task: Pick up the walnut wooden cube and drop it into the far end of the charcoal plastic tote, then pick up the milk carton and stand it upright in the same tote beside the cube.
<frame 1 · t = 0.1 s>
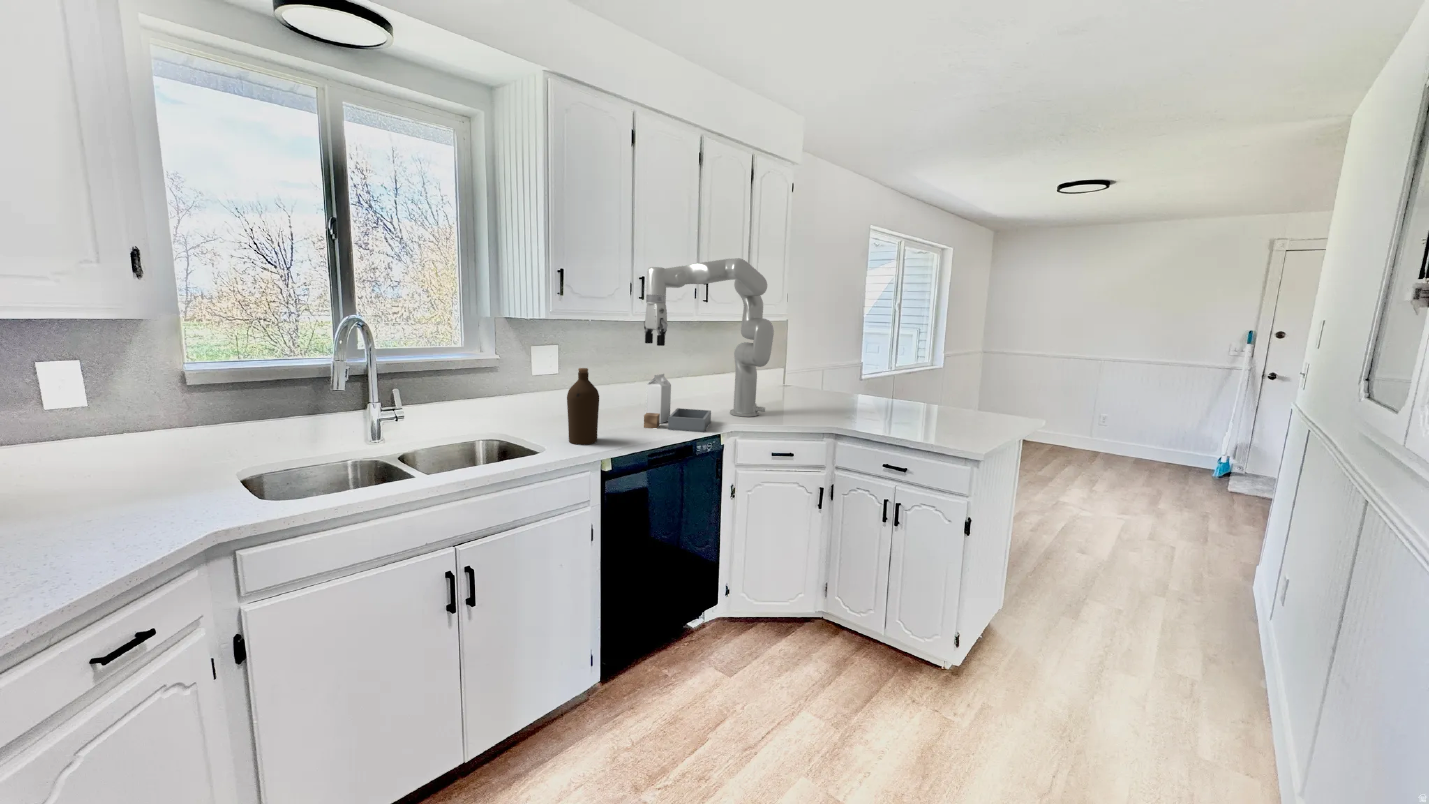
hand: (654, 344, 225), 31 cm above the worktop, tool pointing down, fingers open, 9 cm apart
milk carton: (657, 421, 234), on the worktop
walnut cube: (651, 427, 223), on the worktop
olive oil: (583, 441, 197), on the worktop
tote: (690, 426, 227), on the worktop
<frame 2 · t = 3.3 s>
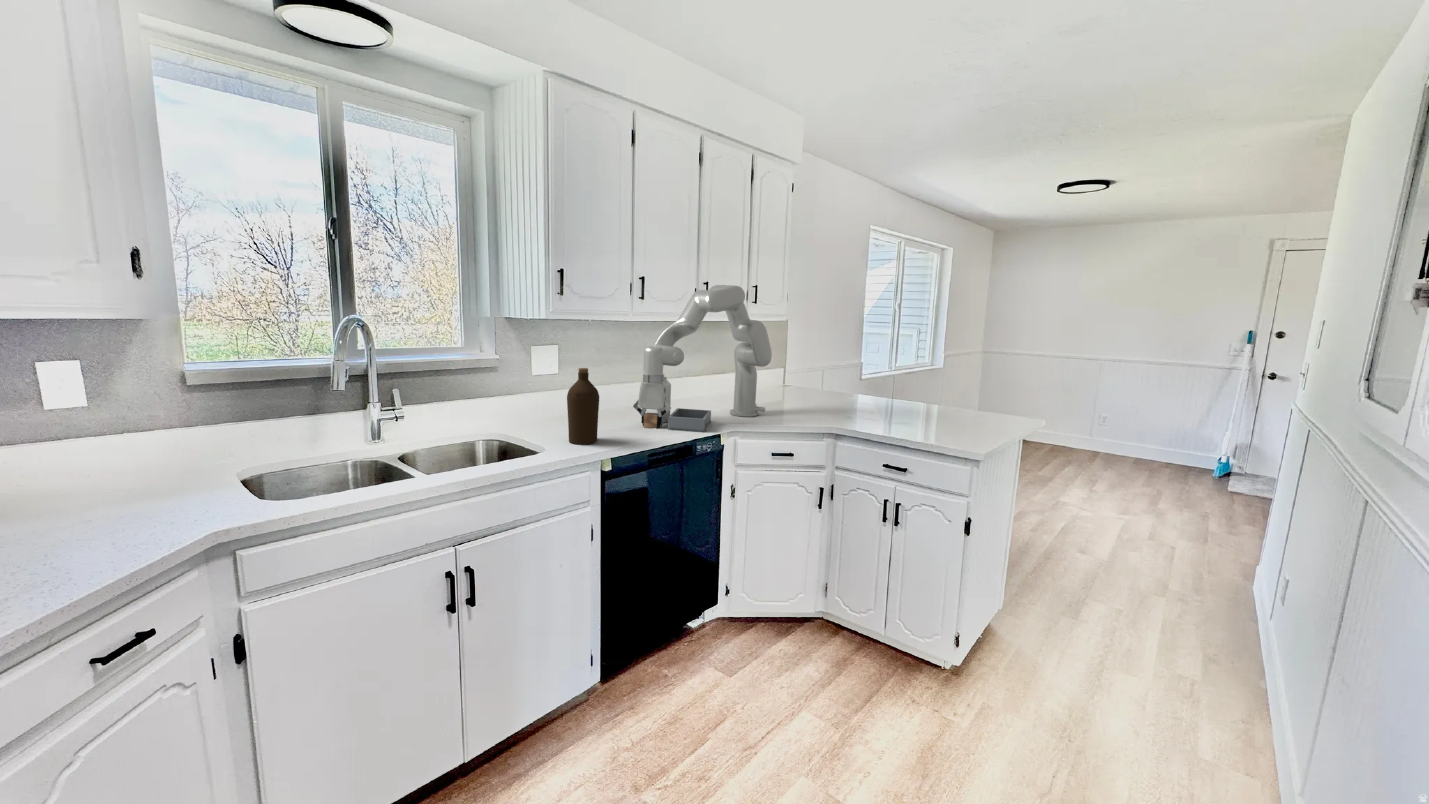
hand: (651, 425, 223), 1 cm above the worktop, tool pointing down, fingers closed on walnut cube, 5 cm apart
walnut cube: (651, 426, 223), on the worktop, touching gripper
everything else where it was.
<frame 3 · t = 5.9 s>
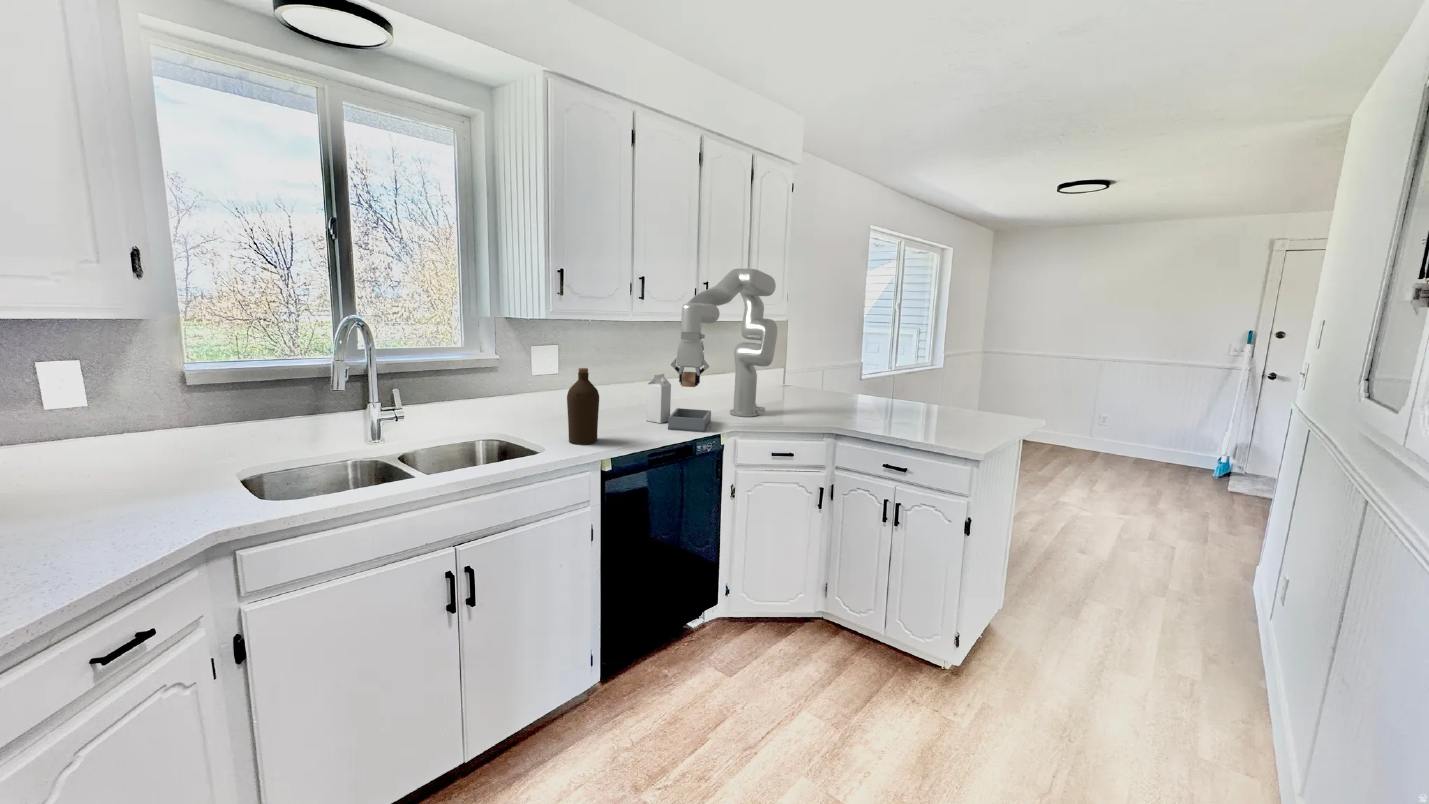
hand: (689, 384, 220), 17 cm above the worktop, tool pointing down, fingers closed on walnut cube, 4 cm apart
walnut cube: (689, 385, 220), point 17 cm above the worktop, touching gripper
everything else where it was.
when the fingers open (4 cm above the worktop, at t = 8.8 s): walnut cube drops 3 cm, resting on tote.
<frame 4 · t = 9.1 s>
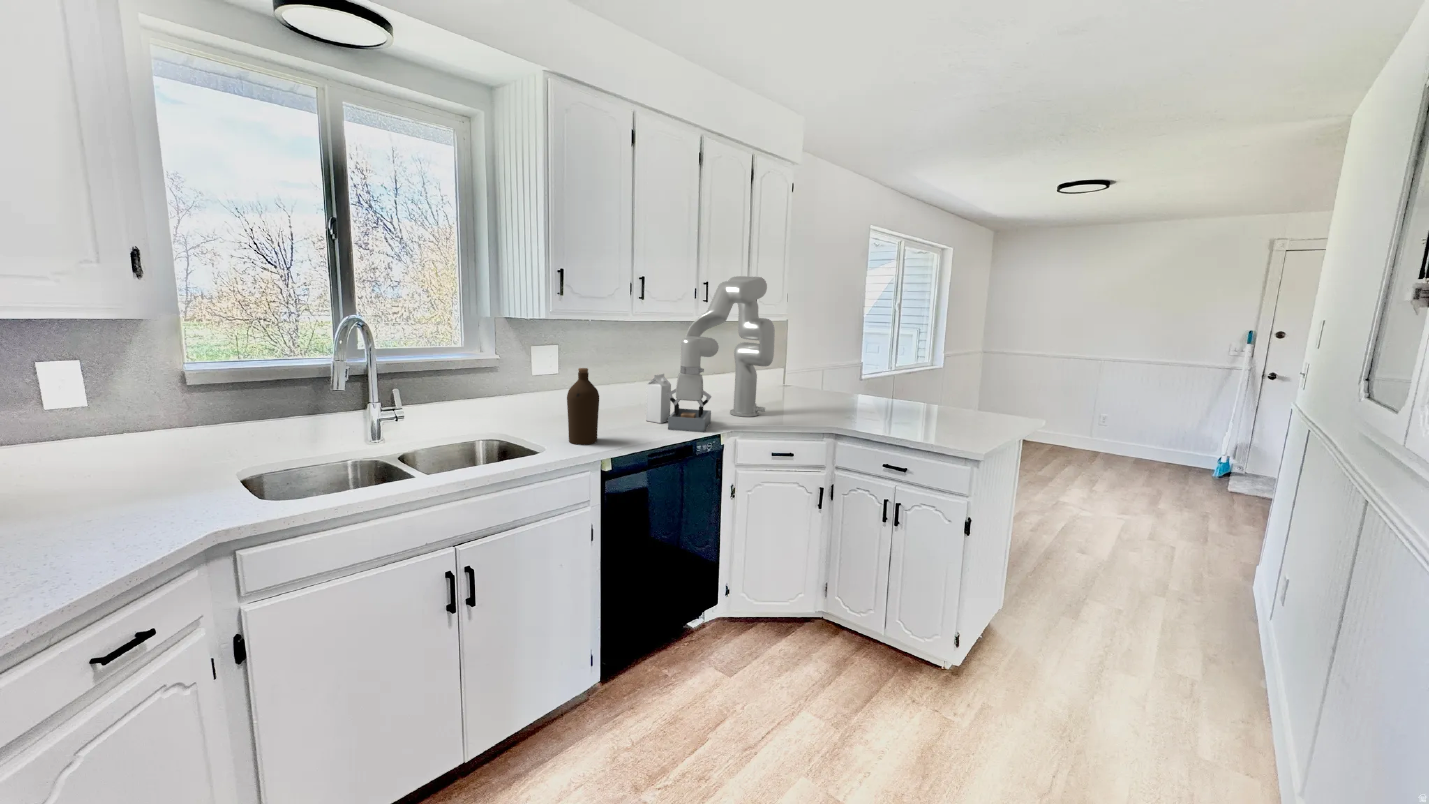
hand: (688, 415, 222), 5 cm above the worktop, tool pointing down, fingers open, 8 cm apart
walnut cube: (687, 426, 223), point 1 cm above the worktop, touching tote
everything else where it was.
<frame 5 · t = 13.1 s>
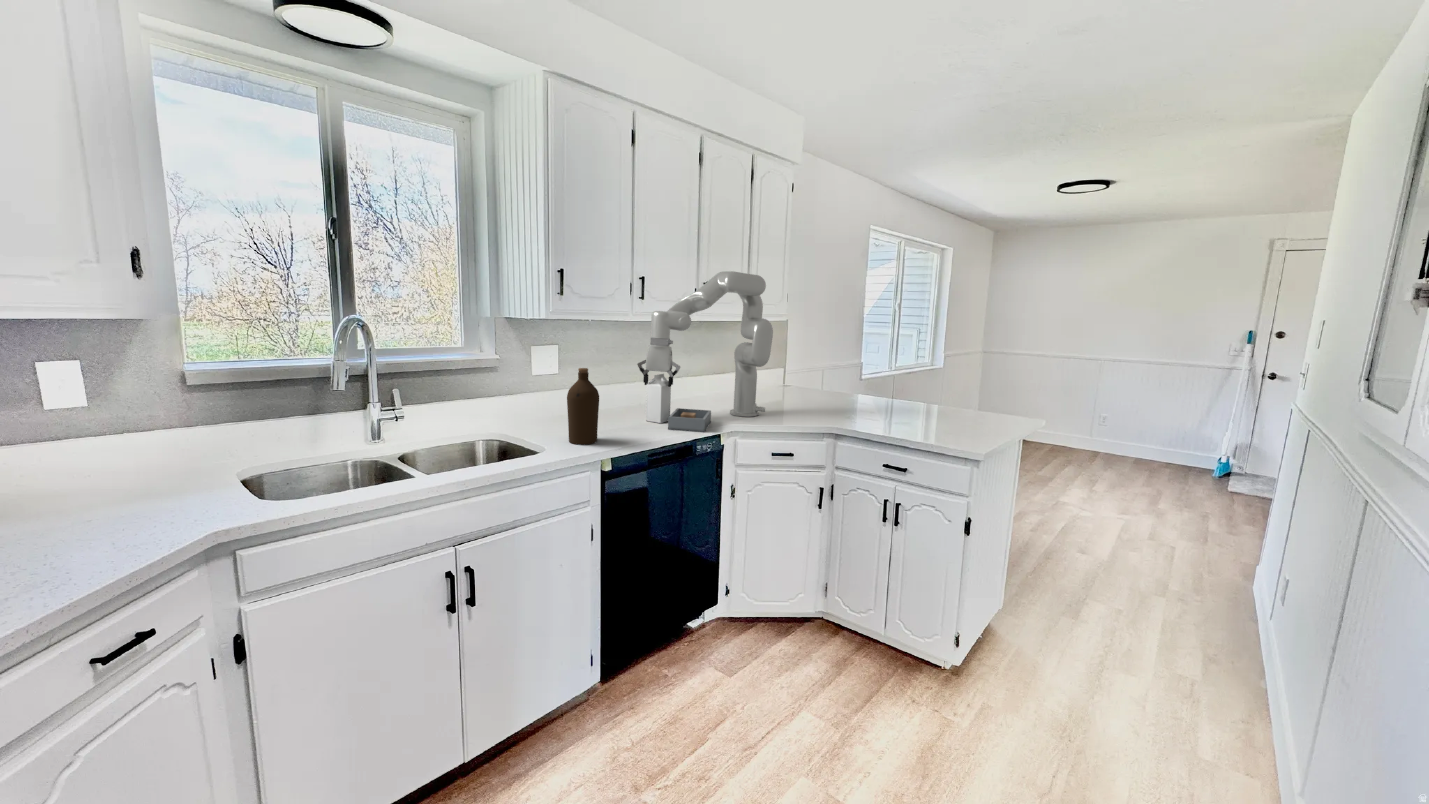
hand: (658, 385, 231), 15 cm above the worktop, tool pointing down, fingers open, 9 cm apart
milk carton: (657, 421, 234), on the worktop, touching gripper
everything else where it was.
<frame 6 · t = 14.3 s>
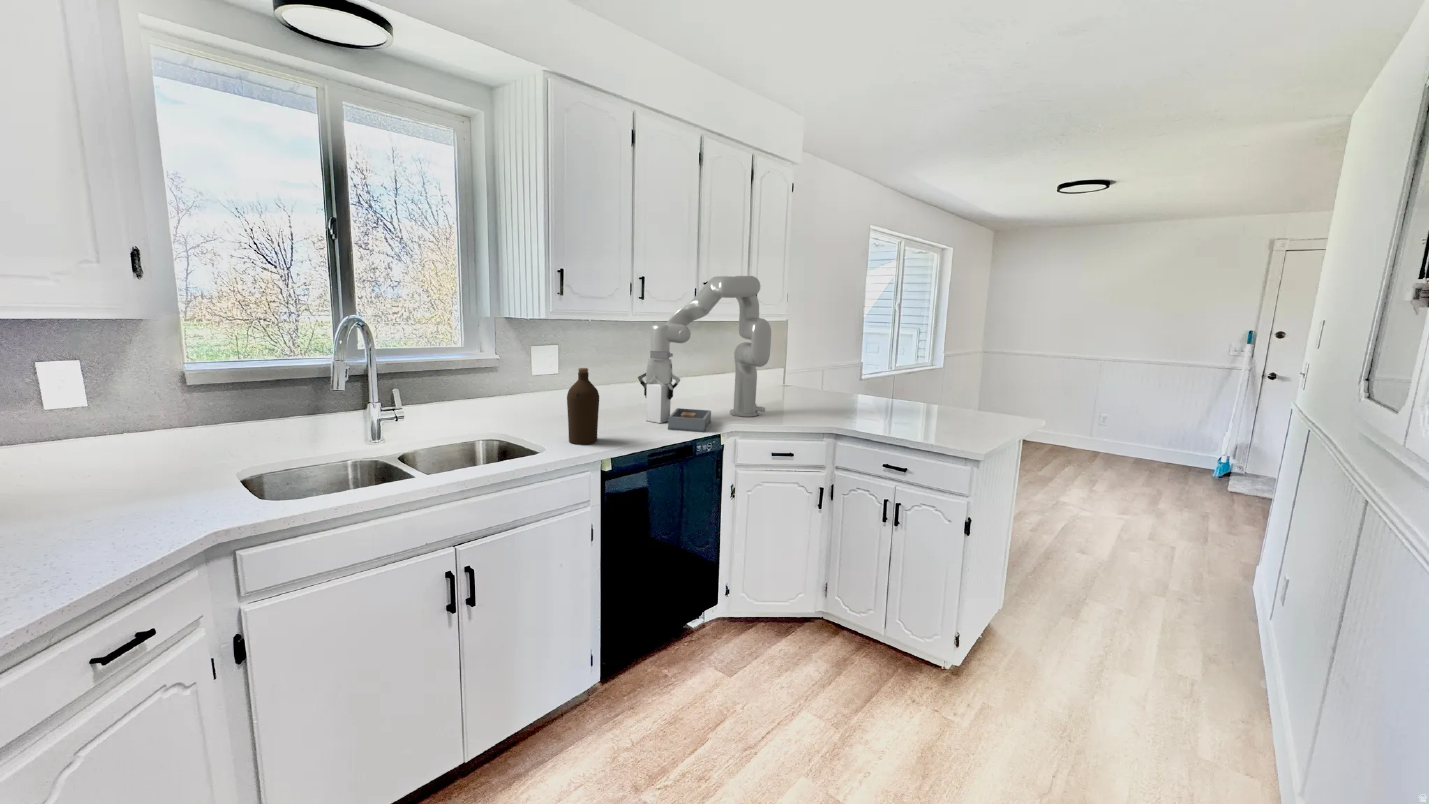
hand: (658, 398, 232), 9 cm above the worktop, tool pointing down, fingers closed on milk carton, 9 cm apart
milk carton: (657, 421, 234), on the worktop, touching gripper
everything else where it was.
when the fingers open (12 cm above the worktop, at t = 22.6 s): milk carton drops 2 cm, resting on tote.
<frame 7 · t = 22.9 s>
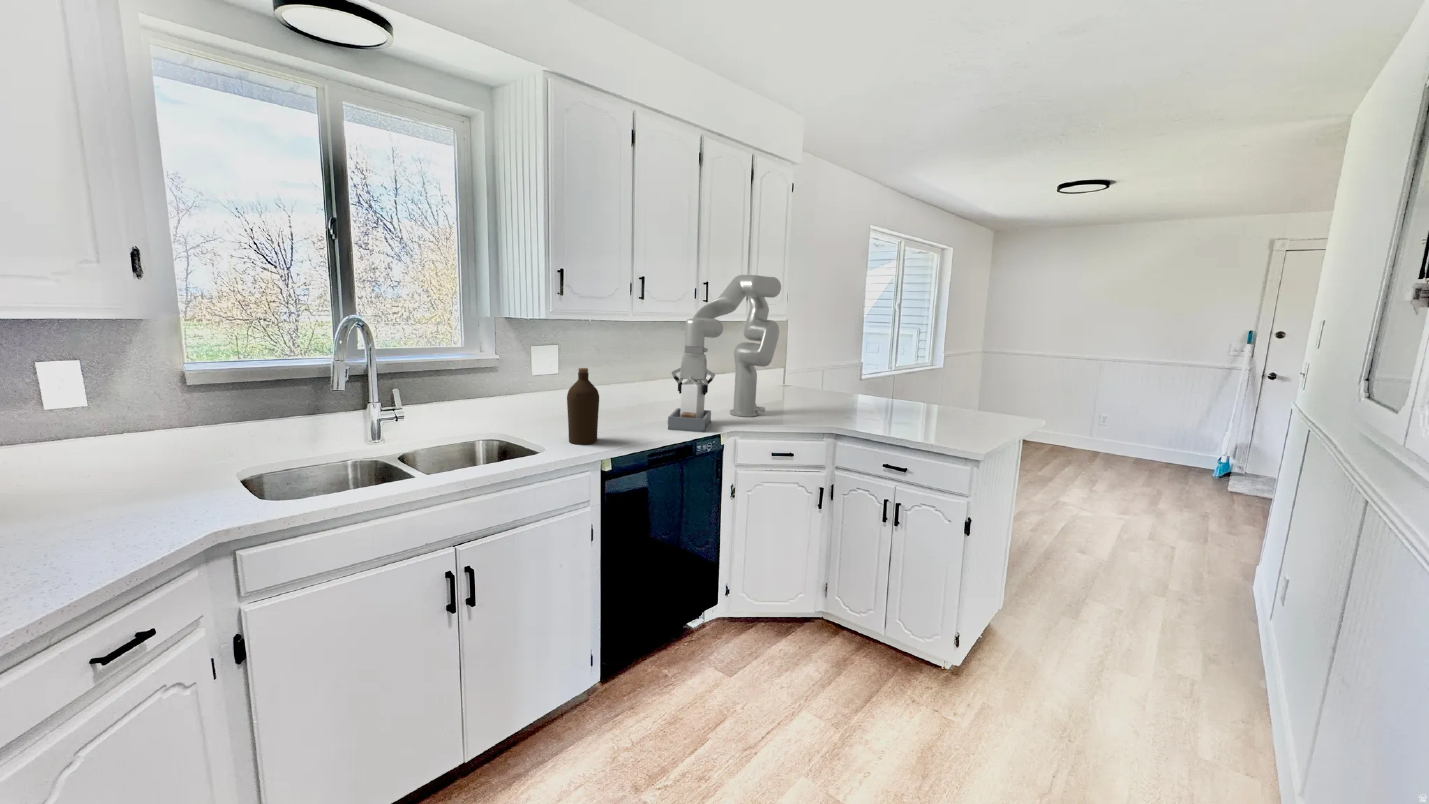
hand: (692, 393, 228), 12 cm above the worktop, tool pointing down, fingers open, 9 cm apart
milk carton: (691, 422, 230), point 1 cm above the worktop, touching tote
everything else where it was.
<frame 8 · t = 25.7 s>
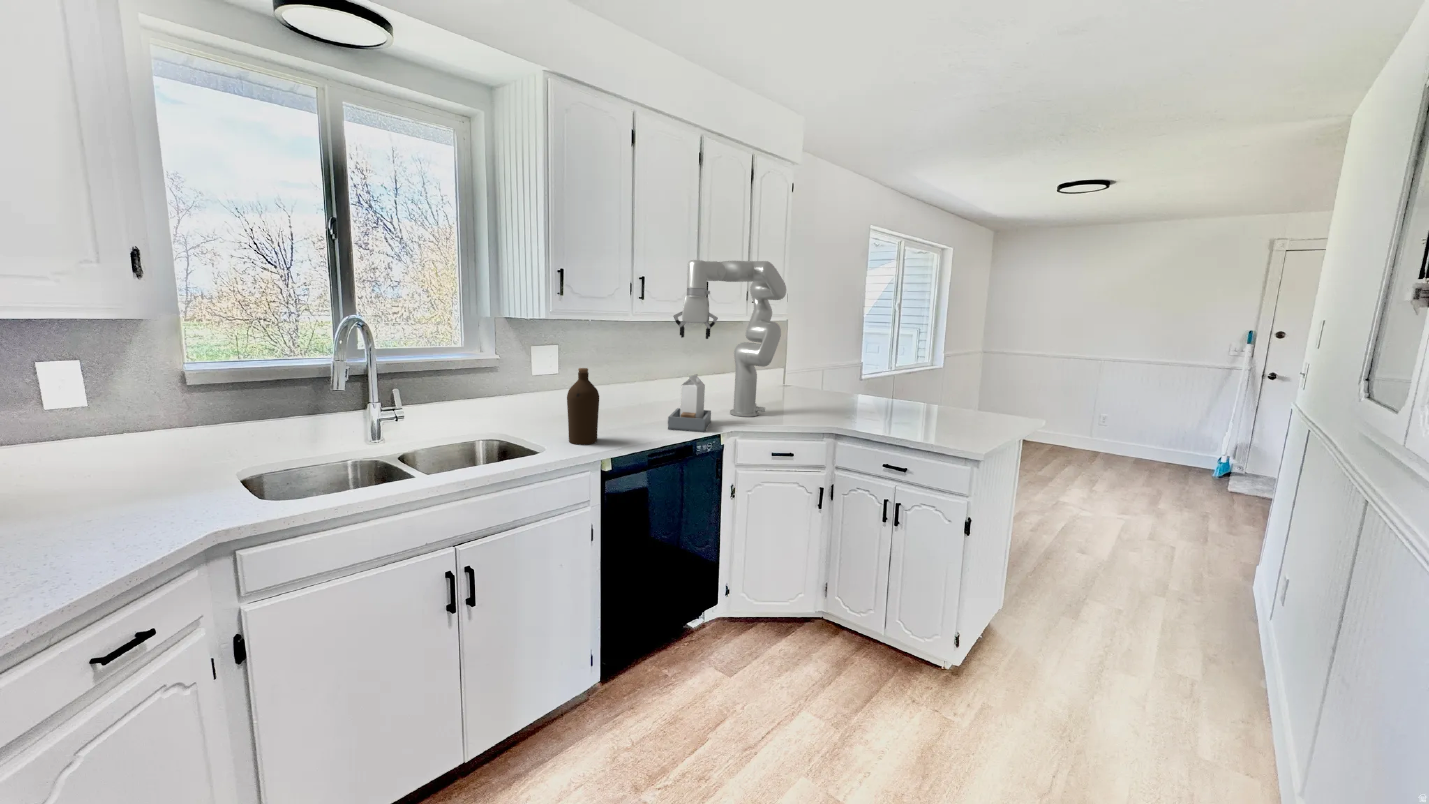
hand: (694, 338, 224), 34 cm above the worktop, tool pointing down, fingers open, 9 cm apart
nothing on the worktop moved.
at the end: walnut cube inside the target area on the tote (4.5 cm from its centre), point 0.8 cm above the tote's base; milk carton inside the target area on the tote (3.5 cm from its centre), point 0.6 cm above the tote's base; milk carton tilted 0° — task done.
